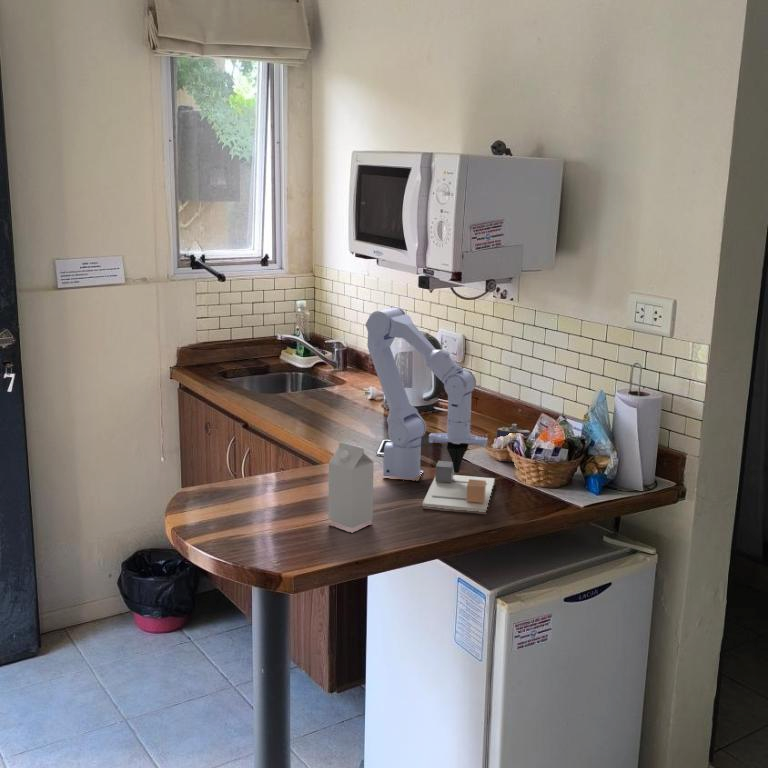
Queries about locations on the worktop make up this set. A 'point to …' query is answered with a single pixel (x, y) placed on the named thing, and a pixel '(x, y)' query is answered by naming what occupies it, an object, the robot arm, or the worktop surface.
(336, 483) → the milk carton
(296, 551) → the worktop surface
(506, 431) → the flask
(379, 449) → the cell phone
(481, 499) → the terracotta slider
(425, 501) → the slider panel
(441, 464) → the charcoal slider
